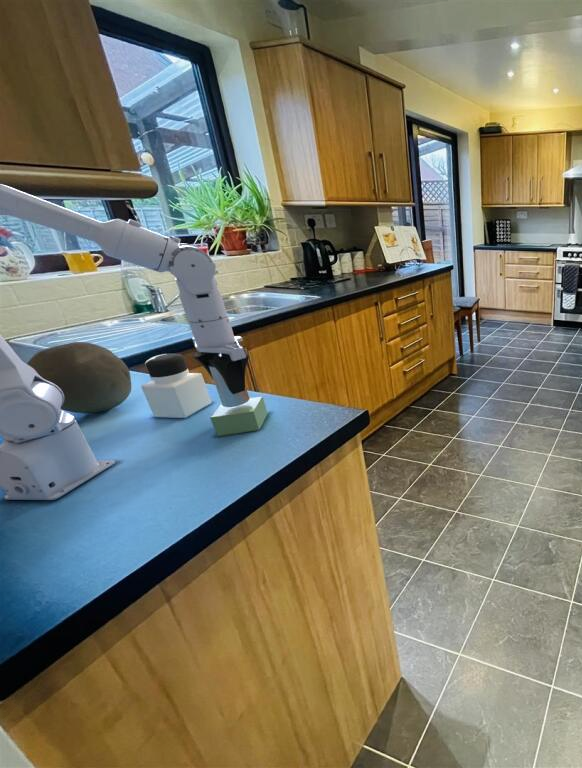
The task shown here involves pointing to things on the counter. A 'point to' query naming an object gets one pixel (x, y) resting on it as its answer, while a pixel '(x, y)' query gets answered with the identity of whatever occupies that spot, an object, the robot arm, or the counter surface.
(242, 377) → the robot arm
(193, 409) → the medicine bottle
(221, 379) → the flask
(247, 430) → the block
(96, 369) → the cantaloupe
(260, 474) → the counter surface
